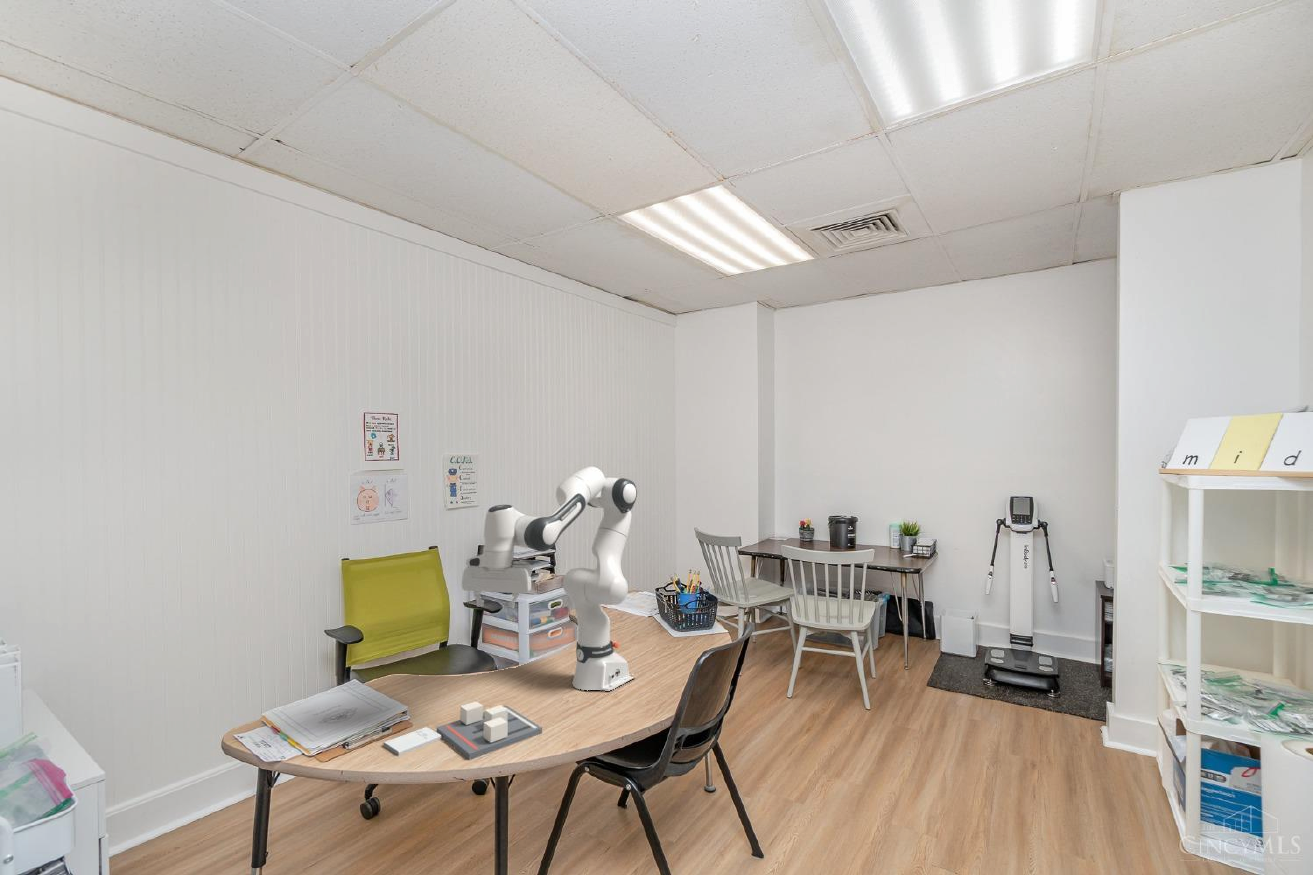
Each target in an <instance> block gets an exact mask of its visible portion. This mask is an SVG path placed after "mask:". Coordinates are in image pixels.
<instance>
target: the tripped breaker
mask: <svg viewBox="0 0 1313 875" xmlns="http://www.w3.org/2000/svg"><path fill="white" fill-rule="evenodd" d="M503 706H504V705H502V704H500V705H495V706H492V707H489V708H487V709H485V710H484V712H485V722H487V721H490V720H493V719H496V718H499V717H501V718H502V719H504V720H505V721H507V717H508V709H506V708H504V707H503Z"/></svg>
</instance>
